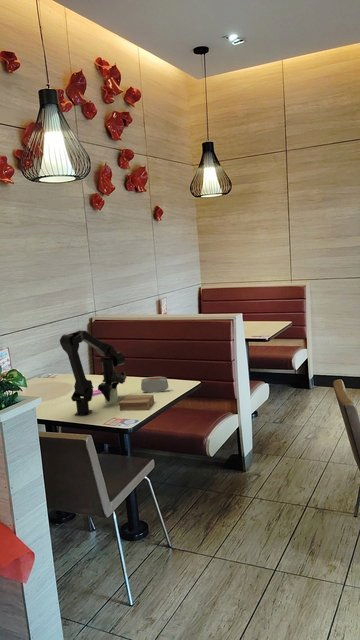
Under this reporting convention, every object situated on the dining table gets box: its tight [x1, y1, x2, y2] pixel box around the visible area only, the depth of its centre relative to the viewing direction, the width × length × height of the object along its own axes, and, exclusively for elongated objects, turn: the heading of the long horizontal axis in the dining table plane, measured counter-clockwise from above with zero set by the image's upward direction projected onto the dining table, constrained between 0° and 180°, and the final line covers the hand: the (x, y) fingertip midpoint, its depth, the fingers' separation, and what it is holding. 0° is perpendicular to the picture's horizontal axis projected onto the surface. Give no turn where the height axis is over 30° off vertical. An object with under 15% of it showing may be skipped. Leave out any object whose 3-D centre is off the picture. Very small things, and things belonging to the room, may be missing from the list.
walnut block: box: [118, 394, 155, 411], centre depth 250 cm, size 12×14×4 cm
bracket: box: [92, 389, 103, 397], centre depth 278 cm, size 13×6×7 cm, turn 122°
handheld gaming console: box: [140, 376, 169, 394], centre depth 272 cm, size 14×3×8 cm, turn 88°
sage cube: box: [104, 388, 119, 404], centre depth 261 cm, size 5×5×6 cm
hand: (111, 398), depth 262 cm, fingers open, 8 cm apart
